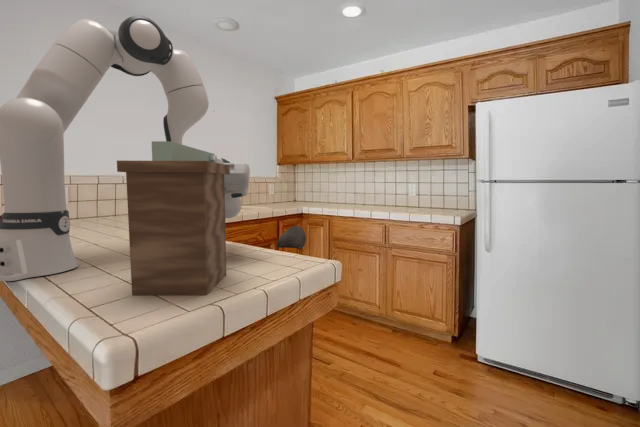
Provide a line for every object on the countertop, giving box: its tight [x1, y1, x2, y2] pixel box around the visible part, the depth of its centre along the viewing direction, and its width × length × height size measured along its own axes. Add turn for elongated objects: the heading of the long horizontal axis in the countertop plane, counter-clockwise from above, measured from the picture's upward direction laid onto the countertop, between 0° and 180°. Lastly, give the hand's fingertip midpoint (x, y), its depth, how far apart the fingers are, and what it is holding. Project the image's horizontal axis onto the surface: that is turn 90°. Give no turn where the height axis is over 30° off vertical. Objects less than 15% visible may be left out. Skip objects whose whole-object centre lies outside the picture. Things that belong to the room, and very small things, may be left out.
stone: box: [276, 225, 307, 251], centre depth 109 cm, size 10×8×10 cm
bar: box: [151, 140, 215, 161], centre depth 72 cm, size 26×3×3 cm, turn 1°
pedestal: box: [116, 160, 230, 296], centre depth 69 cm, size 16×16×25 cm
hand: (202, 157), depth 81 cm, fingers closed on bar, 3 cm apart
